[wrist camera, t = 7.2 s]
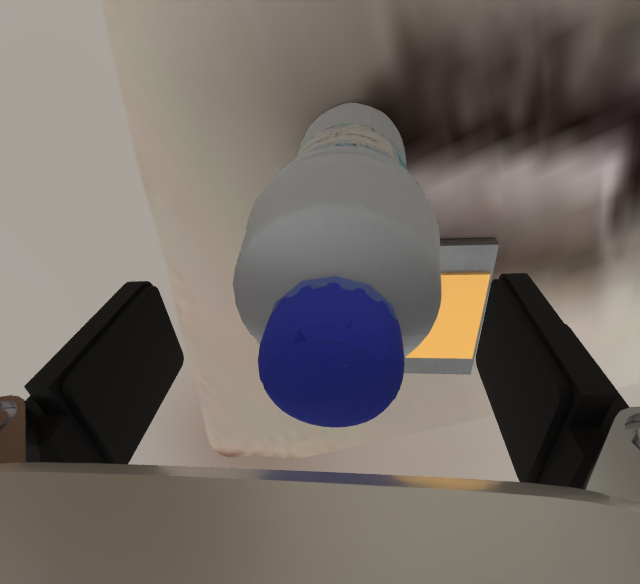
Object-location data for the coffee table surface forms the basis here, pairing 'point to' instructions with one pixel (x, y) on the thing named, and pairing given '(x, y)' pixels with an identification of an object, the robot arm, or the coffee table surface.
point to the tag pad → (456, 317)
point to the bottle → (339, 271)
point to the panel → (458, 260)
